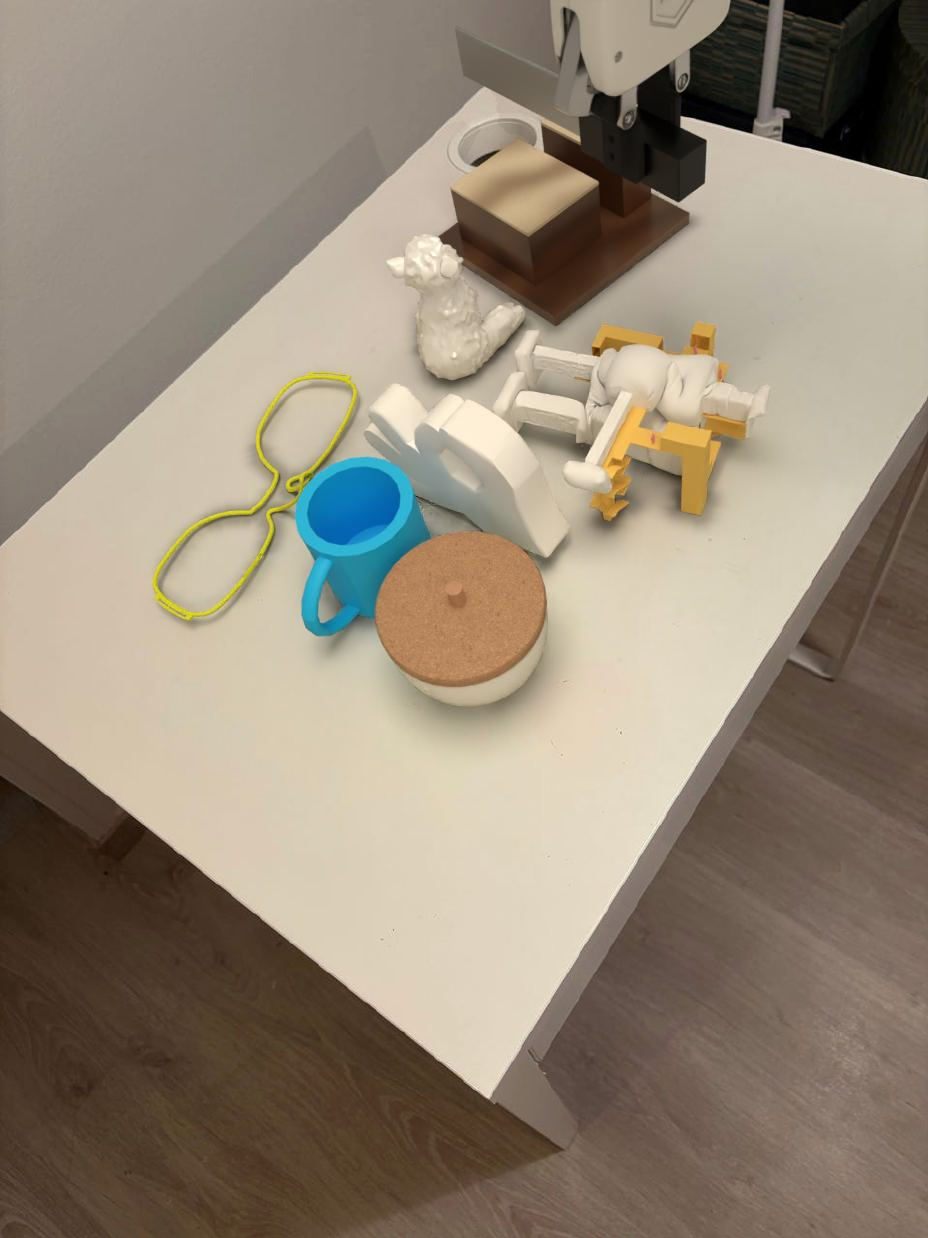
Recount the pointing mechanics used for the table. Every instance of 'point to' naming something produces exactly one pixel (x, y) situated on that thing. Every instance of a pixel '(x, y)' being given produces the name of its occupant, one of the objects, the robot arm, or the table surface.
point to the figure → (635, 409)
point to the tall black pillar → (668, 147)
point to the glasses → (261, 502)
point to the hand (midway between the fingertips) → (641, 158)
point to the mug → (355, 535)
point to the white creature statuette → (451, 310)
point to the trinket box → (464, 617)
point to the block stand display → (549, 230)
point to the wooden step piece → (594, 170)
